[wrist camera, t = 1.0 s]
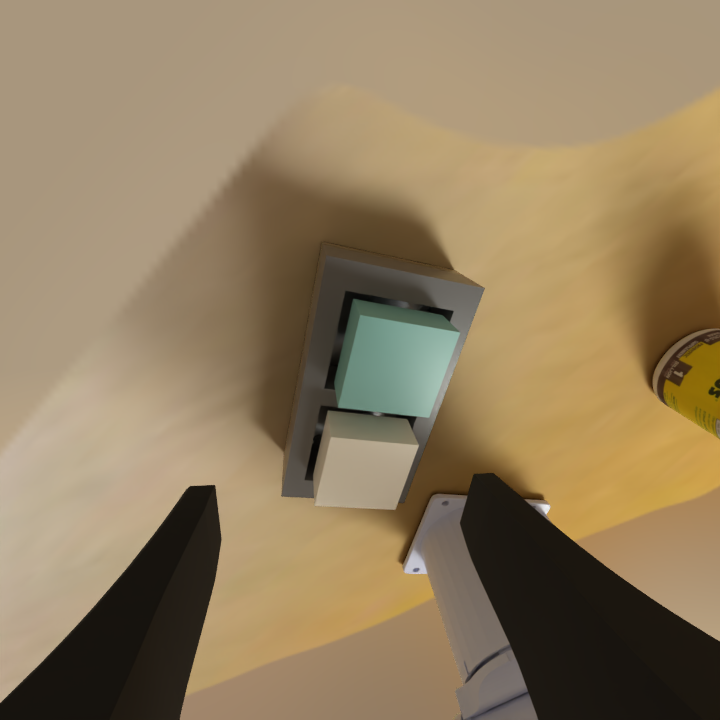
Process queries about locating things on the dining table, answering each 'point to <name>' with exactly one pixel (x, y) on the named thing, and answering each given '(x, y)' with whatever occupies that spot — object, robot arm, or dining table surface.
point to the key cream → (363, 461)
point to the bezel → (316, 377)
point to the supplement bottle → (692, 379)
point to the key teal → (393, 359)
